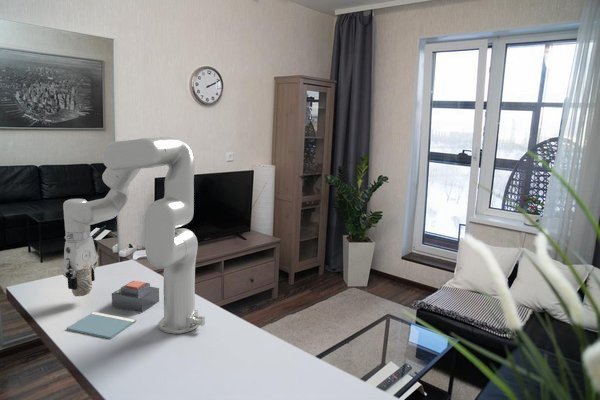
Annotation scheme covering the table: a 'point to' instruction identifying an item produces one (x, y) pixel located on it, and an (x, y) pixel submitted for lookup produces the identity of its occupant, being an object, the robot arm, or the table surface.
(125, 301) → the breaker box
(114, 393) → the table surface
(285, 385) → the table surface
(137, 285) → the button
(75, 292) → the carving
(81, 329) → the mat
